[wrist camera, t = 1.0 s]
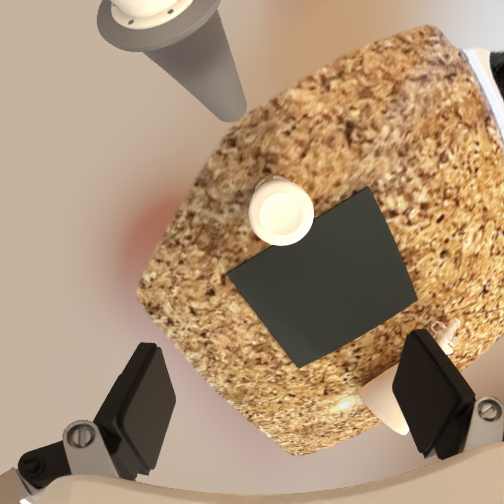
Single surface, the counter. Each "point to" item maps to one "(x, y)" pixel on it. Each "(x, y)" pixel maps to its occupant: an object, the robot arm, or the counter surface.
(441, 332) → the rocket engine
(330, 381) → the counter surface
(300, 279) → the mat
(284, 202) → the sprinkles bottle
